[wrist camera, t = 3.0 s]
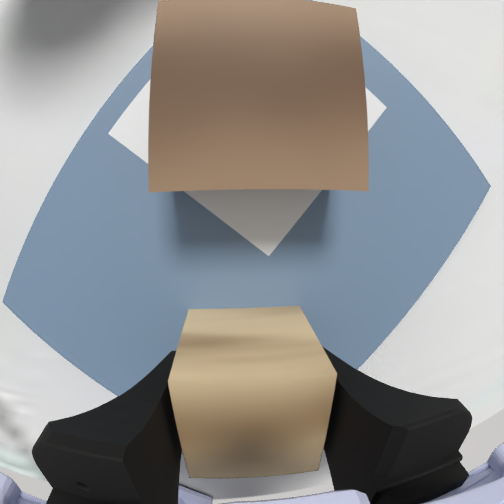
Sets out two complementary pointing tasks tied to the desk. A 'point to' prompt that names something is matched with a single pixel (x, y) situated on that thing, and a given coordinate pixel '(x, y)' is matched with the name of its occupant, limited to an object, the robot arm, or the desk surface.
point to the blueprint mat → (239, 238)
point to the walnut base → (257, 97)
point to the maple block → (251, 392)
